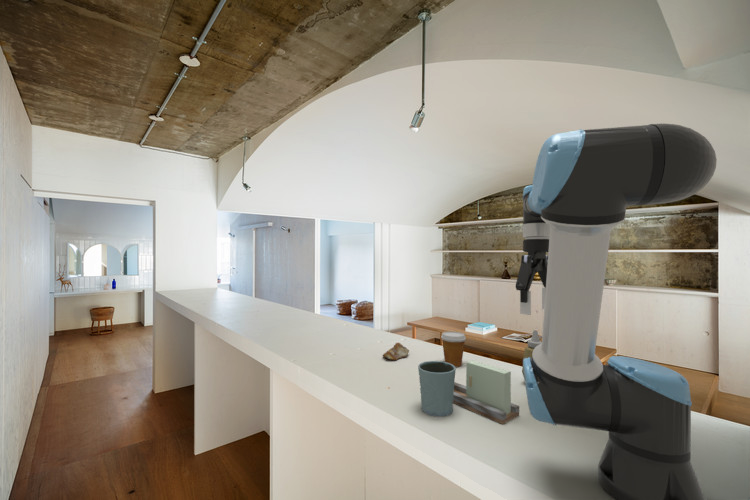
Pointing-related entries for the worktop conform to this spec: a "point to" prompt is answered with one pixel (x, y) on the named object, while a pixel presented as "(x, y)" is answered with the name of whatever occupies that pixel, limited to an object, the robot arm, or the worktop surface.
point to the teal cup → (437, 387)
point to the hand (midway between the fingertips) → (536, 311)
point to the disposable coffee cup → (453, 347)
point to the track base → (482, 406)
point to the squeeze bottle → (531, 346)
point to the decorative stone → (396, 352)
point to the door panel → (489, 385)
